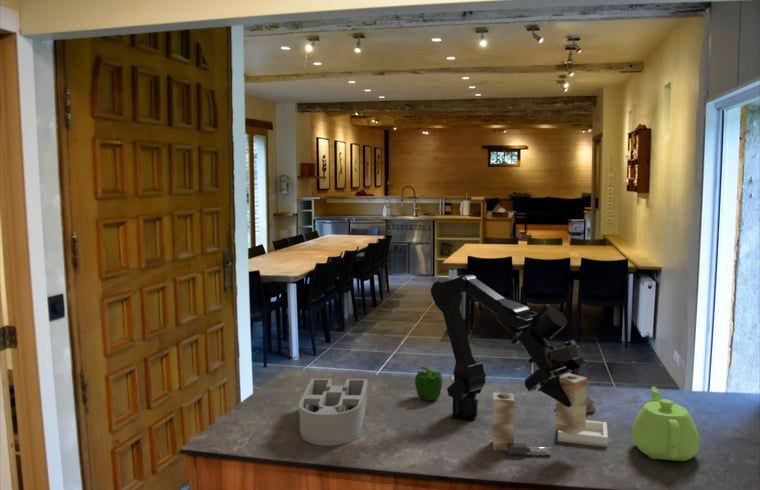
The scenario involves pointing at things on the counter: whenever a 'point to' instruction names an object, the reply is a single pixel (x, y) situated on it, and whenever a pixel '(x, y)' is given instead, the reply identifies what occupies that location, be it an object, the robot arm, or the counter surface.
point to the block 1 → (503, 420)
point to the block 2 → (572, 405)
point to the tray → (588, 435)
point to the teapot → (665, 430)
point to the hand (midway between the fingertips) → (576, 403)
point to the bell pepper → (428, 384)
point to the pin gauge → (525, 449)
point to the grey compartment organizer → (332, 411)
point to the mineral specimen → (589, 405)
